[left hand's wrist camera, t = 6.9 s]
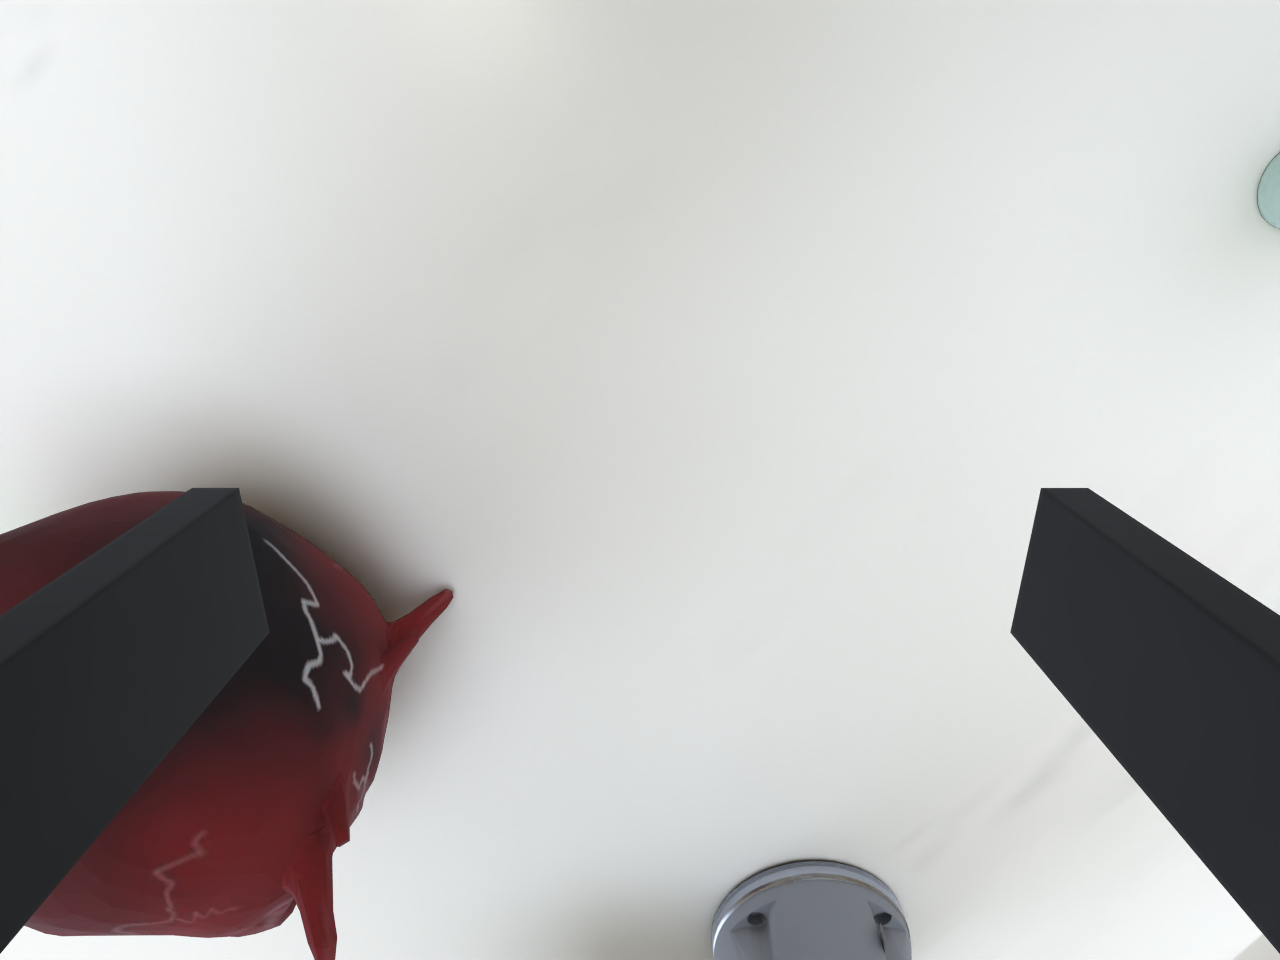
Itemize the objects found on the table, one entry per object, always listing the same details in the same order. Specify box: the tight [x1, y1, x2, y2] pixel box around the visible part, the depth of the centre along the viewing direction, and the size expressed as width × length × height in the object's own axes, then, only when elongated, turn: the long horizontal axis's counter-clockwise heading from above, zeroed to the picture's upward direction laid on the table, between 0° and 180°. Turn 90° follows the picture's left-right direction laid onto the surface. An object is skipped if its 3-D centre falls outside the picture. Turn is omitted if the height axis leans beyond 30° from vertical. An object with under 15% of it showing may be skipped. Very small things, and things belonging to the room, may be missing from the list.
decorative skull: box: [0, 491, 453, 960], centre depth 40 cm, size 21×24×25 cm
